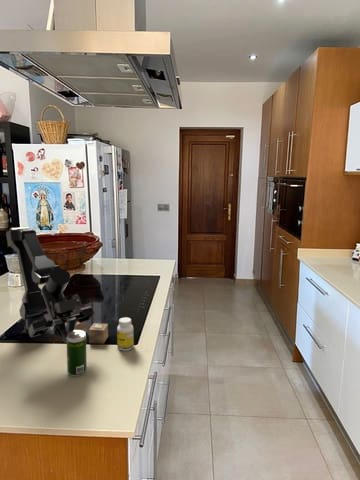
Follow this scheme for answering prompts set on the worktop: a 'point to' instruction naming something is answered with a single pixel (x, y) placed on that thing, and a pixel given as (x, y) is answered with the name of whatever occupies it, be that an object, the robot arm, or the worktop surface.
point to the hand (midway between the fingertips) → (72, 346)
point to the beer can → (76, 353)
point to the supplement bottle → (125, 334)
